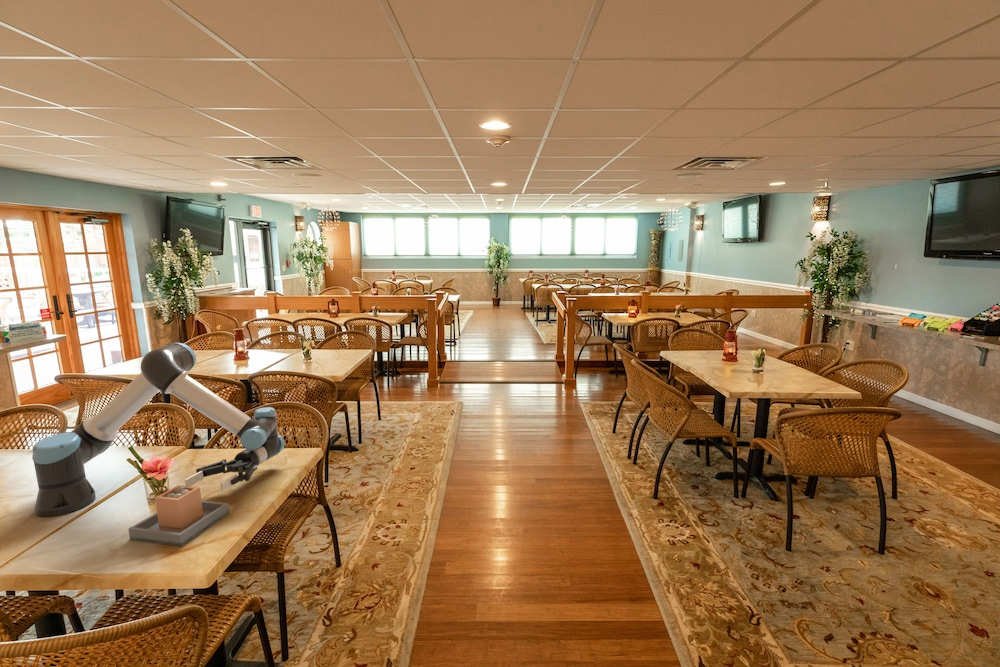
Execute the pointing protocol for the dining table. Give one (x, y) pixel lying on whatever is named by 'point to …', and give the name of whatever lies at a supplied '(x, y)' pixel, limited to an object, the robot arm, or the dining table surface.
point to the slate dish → (153, 534)
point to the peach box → (179, 508)
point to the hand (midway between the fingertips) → (203, 485)
